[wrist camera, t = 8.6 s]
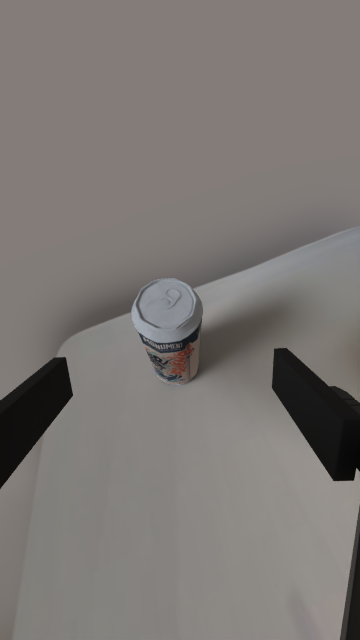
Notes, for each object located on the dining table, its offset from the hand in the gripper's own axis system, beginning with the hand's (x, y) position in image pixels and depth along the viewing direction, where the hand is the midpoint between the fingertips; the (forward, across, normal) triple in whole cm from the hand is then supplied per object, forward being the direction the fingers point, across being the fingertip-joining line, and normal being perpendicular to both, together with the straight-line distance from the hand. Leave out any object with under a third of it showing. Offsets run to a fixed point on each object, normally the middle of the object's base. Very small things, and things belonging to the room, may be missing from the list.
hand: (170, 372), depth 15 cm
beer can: (+10, 0, -4) cm, 11 cm away
